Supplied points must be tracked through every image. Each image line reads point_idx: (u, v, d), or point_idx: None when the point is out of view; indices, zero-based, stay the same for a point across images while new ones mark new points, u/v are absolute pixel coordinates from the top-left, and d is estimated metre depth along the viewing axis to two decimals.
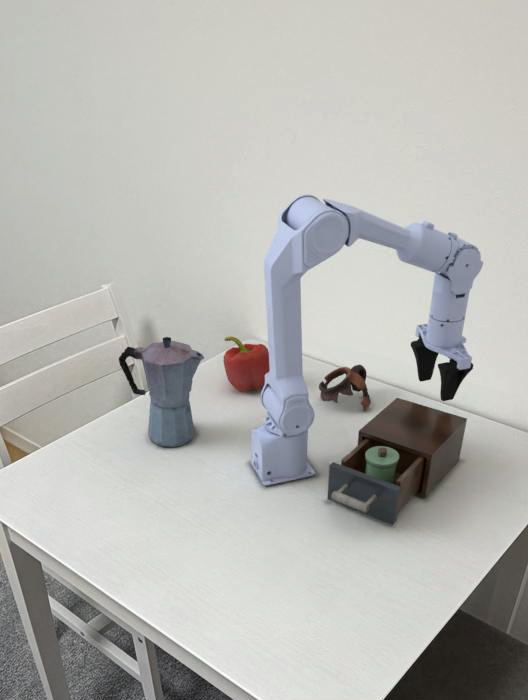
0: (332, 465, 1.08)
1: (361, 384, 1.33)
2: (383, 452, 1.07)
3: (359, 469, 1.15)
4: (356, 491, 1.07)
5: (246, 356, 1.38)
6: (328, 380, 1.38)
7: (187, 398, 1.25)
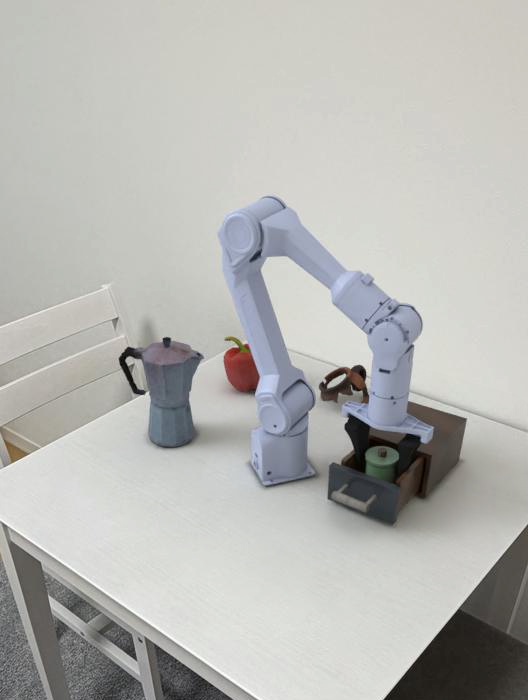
0: (332, 465, 1.08)
1: (361, 384, 1.33)
2: (383, 452, 1.07)
3: (359, 469, 1.15)
4: (356, 491, 1.07)
5: (246, 356, 1.38)
6: (328, 380, 1.38)
7: (187, 398, 1.25)
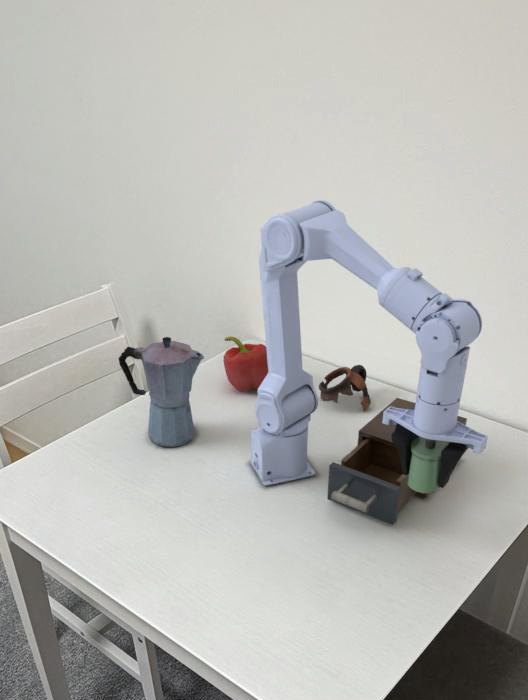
0: (332, 465, 1.08)
1: (361, 384, 1.33)
2: (432, 443, 0.95)
3: (359, 469, 1.15)
4: (356, 491, 1.07)
5: (246, 356, 1.38)
6: (328, 380, 1.38)
7: (187, 398, 1.25)
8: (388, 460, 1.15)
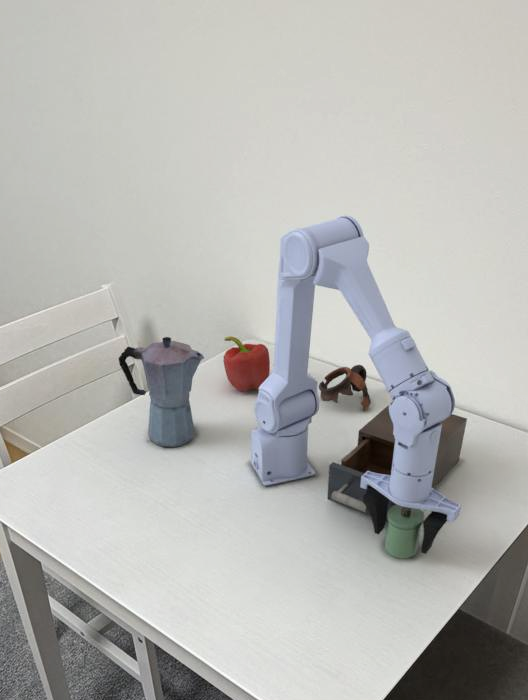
0: (332, 465, 1.08)
1: (361, 384, 1.33)
2: (407, 512, 0.98)
3: (359, 469, 1.15)
4: (356, 491, 1.07)
5: (246, 356, 1.38)
6: (328, 380, 1.38)
7: (187, 398, 1.25)
8: (388, 460, 1.15)
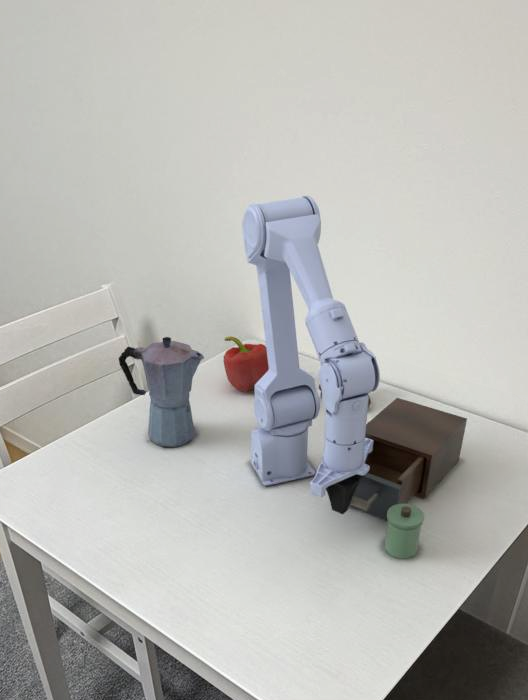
0: None
1: None
2: (407, 512, 0.98)
3: None
4: (357, 490, 1.07)
5: (246, 356, 1.38)
6: None
7: (187, 398, 1.25)
8: (389, 459, 1.15)
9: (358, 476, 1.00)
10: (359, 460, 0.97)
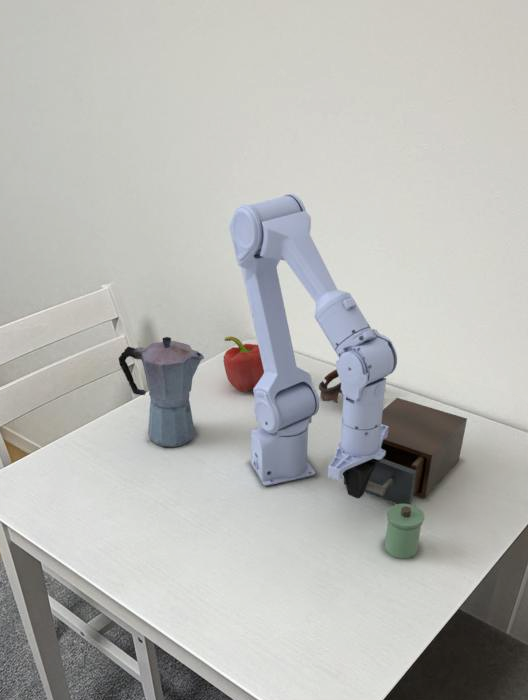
0: None
1: None
2: (407, 512, 0.98)
3: None
4: (372, 475, 1.10)
5: (246, 356, 1.38)
6: (328, 380, 1.38)
7: (187, 398, 1.25)
8: None
9: (374, 461, 1.02)
10: (375, 445, 1.00)
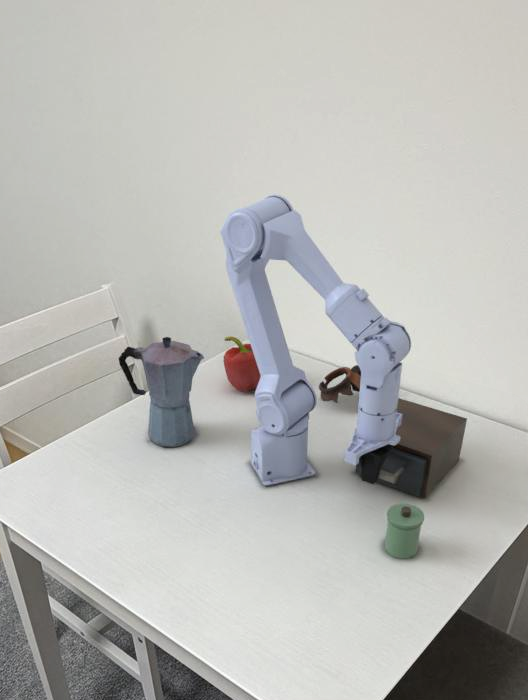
0: None
1: None
2: (407, 512, 0.98)
3: None
4: (383, 464, 1.13)
5: (246, 356, 1.38)
6: (328, 380, 1.38)
7: (187, 398, 1.25)
8: None
9: (387, 449, 1.05)
10: (390, 431, 1.03)
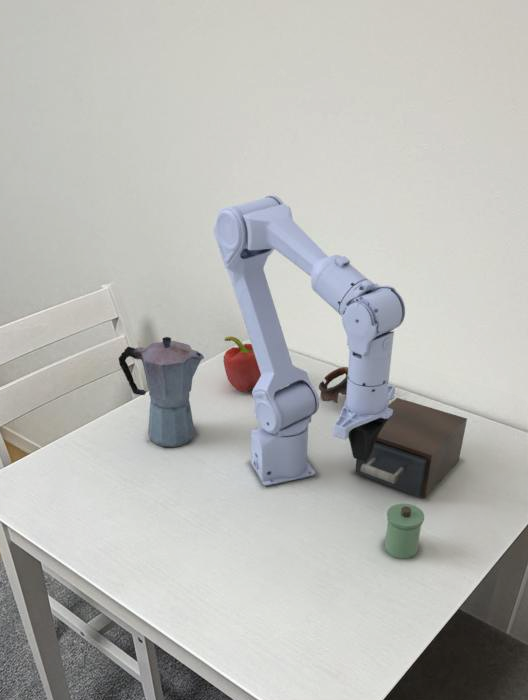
0: None
1: None
2: (407, 512, 0.98)
3: (385, 445, 1.20)
4: (383, 464, 1.13)
5: (246, 356, 1.38)
6: (328, 380, 1.38)
7: (187, 398, 1.25)
8: None
9: (381, 421, 0.99)
10: (382, 403, 0.96)
